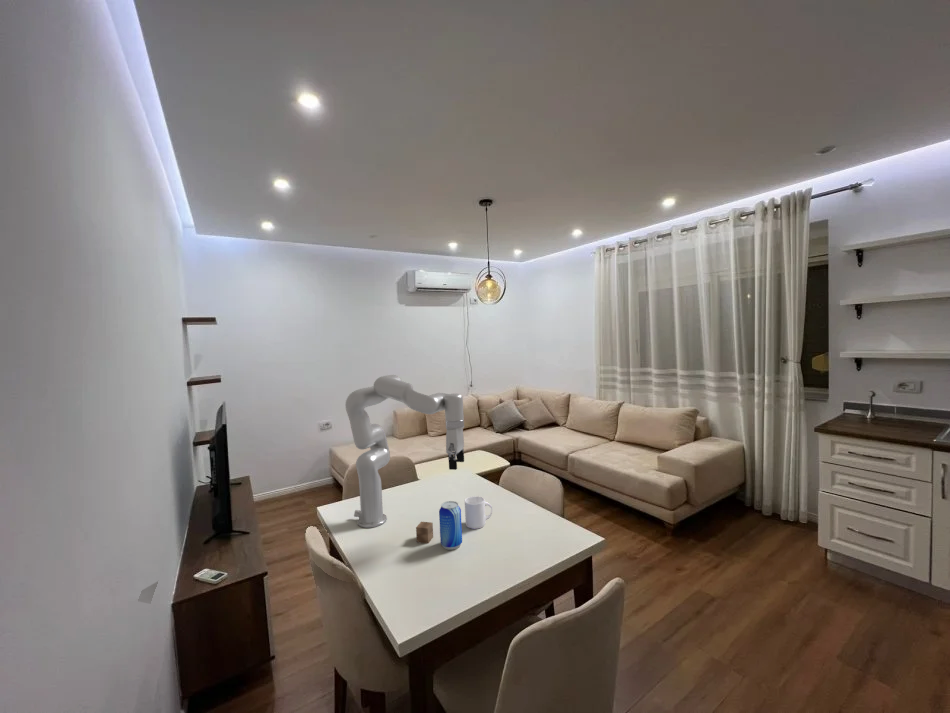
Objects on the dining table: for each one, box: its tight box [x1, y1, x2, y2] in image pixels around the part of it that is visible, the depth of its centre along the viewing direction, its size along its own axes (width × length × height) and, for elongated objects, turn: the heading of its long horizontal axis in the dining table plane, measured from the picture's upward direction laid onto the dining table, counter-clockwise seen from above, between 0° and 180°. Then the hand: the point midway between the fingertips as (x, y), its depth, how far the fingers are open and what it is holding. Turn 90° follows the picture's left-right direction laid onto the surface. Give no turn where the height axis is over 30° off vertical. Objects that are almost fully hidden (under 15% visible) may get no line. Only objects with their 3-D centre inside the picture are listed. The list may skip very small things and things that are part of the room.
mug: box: [464, 495, 493, 530], centre depth 166 cm, size 9×12×11 cm
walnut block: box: [415, 521, 434, 544], centre depth 155 cm, size 5×5×6 cm
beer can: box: [438, 500, 463, 551], centre depth 149 cm, size 8×8×16 cm
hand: (456, 465), depth 158 cm, fingers open, 9 cm apart
